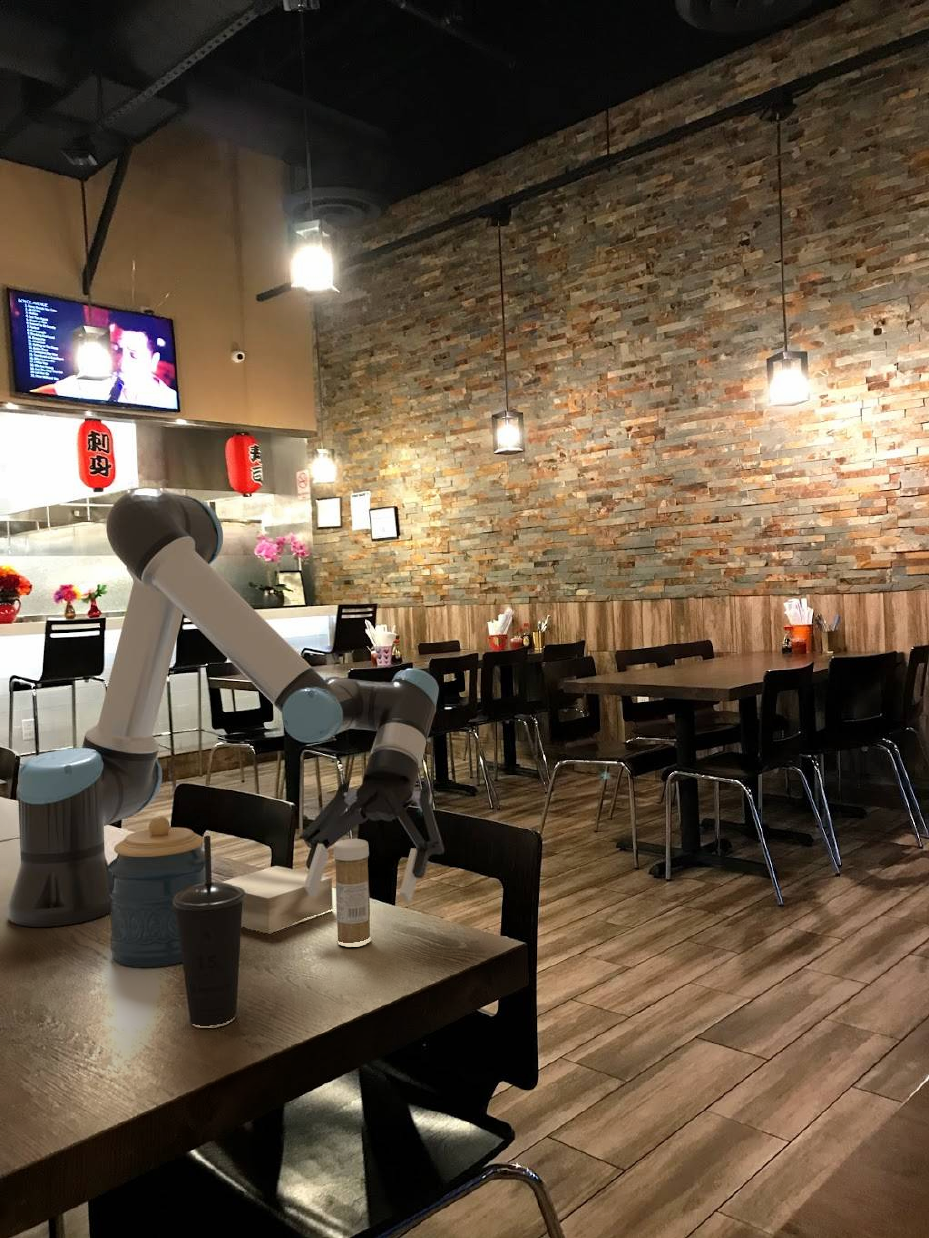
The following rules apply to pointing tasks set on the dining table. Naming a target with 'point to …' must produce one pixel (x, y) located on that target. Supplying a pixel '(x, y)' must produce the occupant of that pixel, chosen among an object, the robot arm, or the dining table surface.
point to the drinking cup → (210, 946)
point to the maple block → (280, 898)
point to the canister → (152, 892)
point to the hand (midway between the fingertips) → (356, 895)
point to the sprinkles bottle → (352, 890)
